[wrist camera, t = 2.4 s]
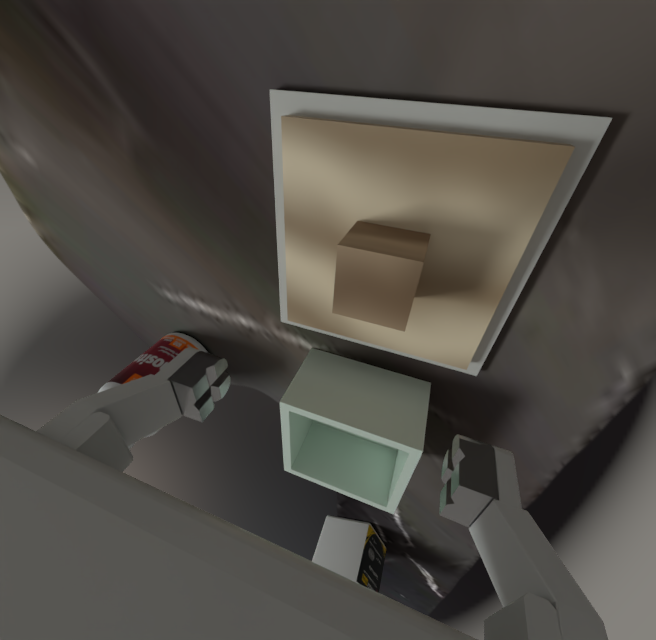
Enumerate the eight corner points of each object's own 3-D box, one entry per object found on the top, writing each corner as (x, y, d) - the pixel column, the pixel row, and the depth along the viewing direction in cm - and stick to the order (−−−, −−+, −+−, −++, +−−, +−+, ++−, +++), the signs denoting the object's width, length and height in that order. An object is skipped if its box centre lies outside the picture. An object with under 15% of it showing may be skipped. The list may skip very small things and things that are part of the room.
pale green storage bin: (311, 347, 26) (279, 401, 22) (431, 382, 24) (423, 451, 19) (309, 417, 32) (284, 470, 28) (404, 450, 30) (393, 514, 25)
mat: (275, 89, 16) (269, 89, 16) (607, 117, 12) (612, 117, 12) (284, 317, 25) (281, 321, 25) (476, 370, 22) (476, 376, 21)
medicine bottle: (387, 547, 45) (367, 662, 36) (344, 537, 49) (316, 640, 40) (370, 522, 42) (344, 640, 33) (326, 513, 46) (291, 618, 36)
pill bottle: (209, 338, 30) (113, 431, 22) (220, 380, 34) (142, 472, 26) (158, 323, 32) (51, 405, 24) (174, 365, 36) (87, 448, 28)
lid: (288, 114, 16) (242, 121, 13) (569, 144, 13) (605, 162, 10) (292, 314, 24) (264, 349, 21) (466, 361, 21) (466, 411, 18)
